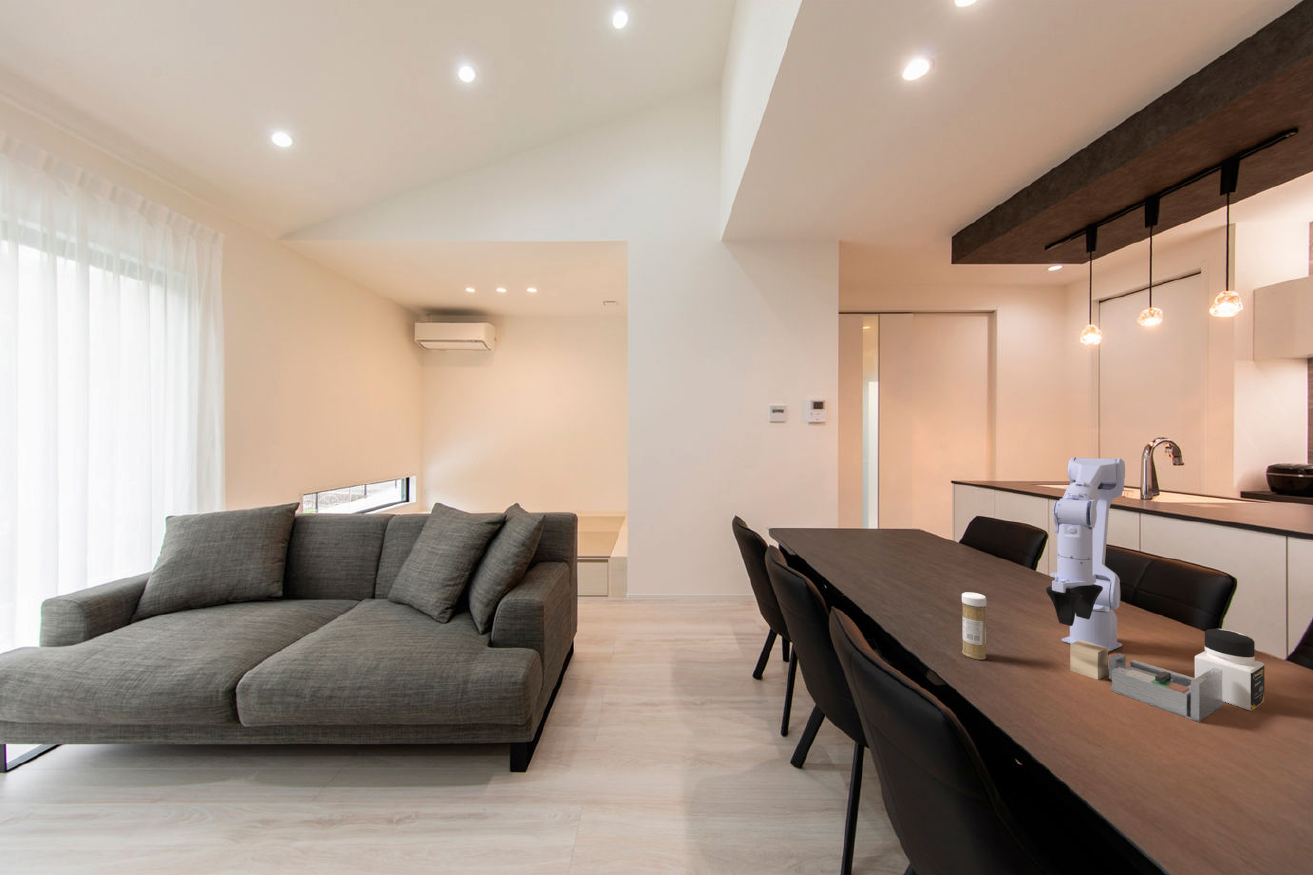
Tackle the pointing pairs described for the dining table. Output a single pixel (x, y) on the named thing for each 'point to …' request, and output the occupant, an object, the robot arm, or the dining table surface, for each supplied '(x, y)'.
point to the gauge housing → (1171, 690)
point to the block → (1089, 659)
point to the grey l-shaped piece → (1120, 661)
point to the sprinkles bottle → (974, 625)
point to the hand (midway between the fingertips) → (1074, 620)
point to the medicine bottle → (1233, 667)
